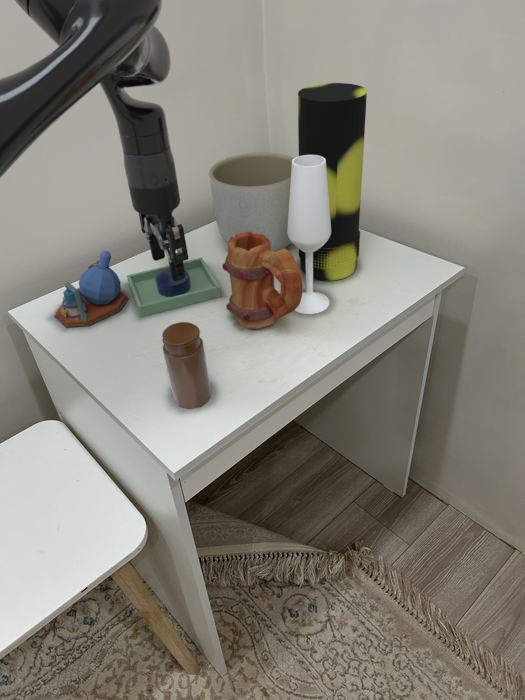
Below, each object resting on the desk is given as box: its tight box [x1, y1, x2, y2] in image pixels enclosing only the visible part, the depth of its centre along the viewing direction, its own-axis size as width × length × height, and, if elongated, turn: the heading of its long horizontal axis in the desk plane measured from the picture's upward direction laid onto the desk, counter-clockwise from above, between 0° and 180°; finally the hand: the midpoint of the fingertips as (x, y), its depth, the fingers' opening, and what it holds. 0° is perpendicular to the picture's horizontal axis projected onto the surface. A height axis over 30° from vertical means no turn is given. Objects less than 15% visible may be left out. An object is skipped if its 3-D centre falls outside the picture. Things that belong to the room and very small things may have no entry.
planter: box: [208, 151, 295, 252], centre depth 104 cm, size 17×17×15 cm
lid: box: [156, 269, 191, 297], centre depth 96 cm, size 6×6×2 cm
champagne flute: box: [287, 155, 331, 315], centre depth 84 cm, size 7×7×24 cm
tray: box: [126, 257, 222, 318], centre depth 96 cm, size 14×11×2 cm
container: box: [297, 82, 368, 282], centre depth 91 cm, size 11×11×30 cm
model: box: [53, 250, 129, 329], centre depth 91 cm, size 12×9×9 cm
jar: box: [161, 321, 212, 410], centre depth 72 cm, size 5×5×11 cm
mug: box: [221, 232, 304, 329], centre depth 82 cm, size 15×8×15 cm, turn 42°
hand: (168, 268), depth 94 cm, fingers open, 8 cm apart
